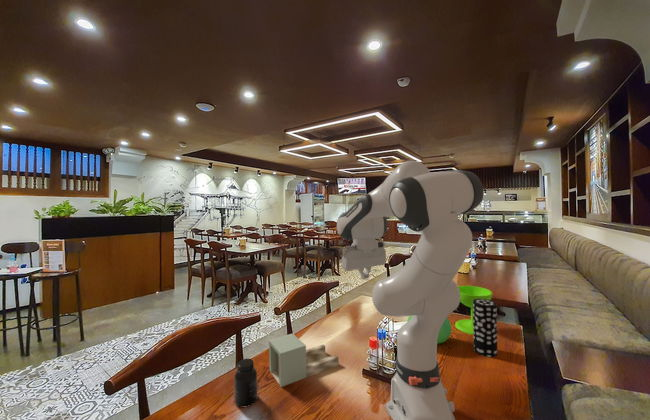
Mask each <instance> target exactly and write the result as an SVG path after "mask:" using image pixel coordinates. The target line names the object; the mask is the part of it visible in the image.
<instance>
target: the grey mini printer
mask: <svg viewBox="0 0 650 420" xmlns="http://www.w3.org/2000/svg"><path fill="white" fill-rule="evenodd" d="M339 363H340V362H339V356H338V355H337V354H336V355H332V356H329V355H328V354H327V353H326V345H324V344H321V345H317V346H314V347H312V348H309V349H306V375H307V377H306V378H308V377H312V376H314V375H316V374H319V373H321V372H323V371H327V370H329V369H332V368H335V367H337V366H339ZM270 374H271V375H272V376H273V377H274V379H275V380H276V382H277V383H278V384H279V375H278V373H277V371H274V372H270ZM303 379H305V378H303ZM303 379H302V380H303ZM296 382H297V381H295V382H294V383H296ZM290 384H292V383H290ZM290 384H289V385H290ZM282 387H284V386H282ZM282 387H281V388H282Z"/></svg>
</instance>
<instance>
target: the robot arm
mask: <svg viewBox="0 0 650 420" xmlns="http://www.w3.org/2000/svg"><path fill="white" fill-rule="evenodd" d="M484 192H485V191H484V186H483V183H482V180H481V179H480V177H479V176H477V175H476V174H475V173H474V172H472V171H469V170H463V169H451V170H443V171H438V172H434V171H433V172H431V171H430V169H429V168H428V167H427V166H426V165H425V164H423V163H422V162H420V161H417V160H406V161H404V162H402V163H400V164H399V165H398V166H397V167H395V168H394V169H393V170H392V171H391V172H390V174H388V176H386V178H385V179H384V181H383V182H382V183H381V184H379V186H377V187H376V188H375V189H373V190H371V191H370V192H368V193H365V195H362V196H361V197H360V198H359V199H358V200H357V201H356V202H355V203H354V204H353V205H352V206H351V207H350V208H349V209H348V210H347V211H345V212H342V213H341V214H340V215H339V217H338V219H337V220H336V231H337V232H336V233H337V234H338V236H340V238H341V239H343V240H344V241H352V245H346V246H345V247H343V249H342V257H341V267H342V269H343V270H345V271H353V270H357V271H358V272H359V274H360V279H361V280H365V279H369V278H370V273H371V271H372V268H373V267H379V266H384V265H385V264H386V263H387V251H386V248H385V247H386V242H385V241H381V240H379V238H383V237H384V236H385V235H386V234H387V231H388V219H387V218H388V217H395V219H398V221H399V222H401V223H402V224H403V225H405V226H407V228H408V229H410V230H411V231H413V232H419V233H420V232H421V234H420V237H419V240H418V242H417V244H416V245H415V248H414V250H413V251H412V254H411V255H410V258H408V259H409V260H408V261H407V262H406V263H405V264H404V265H403V266H402V267H401V268H400V269H398V270H397V271H395V272H394V273H393V274H391V275H389V276H388V277H385V278H383V279H380V280H378V281H376V282H375V284H374V286H373V287H372V292H371V299H372V300H371V301H372V304H373V306H374V307H375V309H376V310H377V312H378V313H379V314H380V315H383V316H389V317H396V318H399V317H409V316H412V318H411V319H410V321H408V320H407V321H408V322H406V323H404V324H403V325H402V326H401V327H400V328H399V329H398V331H397V335H396V351H397V355H396V357H395V371H396V372H395V373H394V375H393V377H392V378H391V381H390V382H391V383H390V384H391V385H390V386H391V387H390V400H388V401H387V402H386V404H385V410H386V412H387V413H388V415H389V417H390V416H391V417H390V418H391V419H393V420H456V418H455V416H454V412H455V404H454V401H448V399H447V395H448V389H447V388H446V387H444V385H443V383H442V378H441V374H440V367H439V362H438V357H437V356H438V352H437V351H438V344H437V340H438V335H439V331H440V329H441V327H442V325H443V323H444V321H445V320H446V318H449V316H450V314H451V313H452V312H454V311H456V309H458V307H459V305H460V303H461V302H460V291H459V288H458V284H457V283H456V282H455V281H454V280H453V279H454V278H455V276H456V275H457V274H458V273H459V271H460V269H461V268H462V266H463V264H464V262H465V260H466V259H467V256H468V254H469V252H470V249H471V246H472V243H473V233H472V231H471V229H470V227H469V226H468V225H467V224H466V223H465V222H464V221H463V220H461V219H459V217H458V215H461V214H466V213H468V212H470V211H471V212H472V211H473V210H475V209H476V208H477V207H479V206H480V205H481V203H482V201H483V199H484V194H485V193H484ZM377 239H378V240H377ZM364 271H365V272H364Z"/></svg>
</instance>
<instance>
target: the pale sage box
mask: <svg viewBox="0 0 650 420" xmlns="http://www.w3.org/2000/svg"><path fill="white" fill-rule="evenodd" d="M306 350H307V346H306V344H304V342H303V341H302V340H300V339H299V338H298V337H297V336H296V335H295V334H294V333H289V334H285V335H282V336H279V337H275V338H271V339H269V340H268V353H269V354H268V355H269V356H268V358H269V359H268V361H269V372H270V373H271V372H274V371H277V368H276V353H277V354H278V355H279V383H278V385H279V387H280V388H282V386H283V387H285V386H287V385H290V383H291V384H294V383H296V382H298V381H301V380H303V378H304V379H306V378H308V377H307V375H306ZM295 381H296V382H295Z"/></svg>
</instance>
